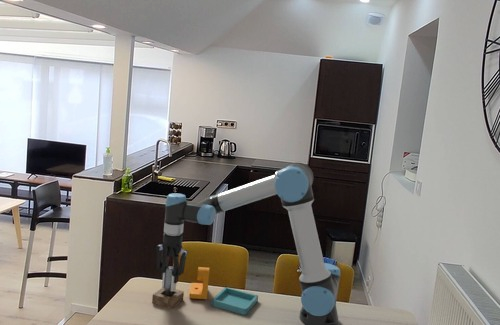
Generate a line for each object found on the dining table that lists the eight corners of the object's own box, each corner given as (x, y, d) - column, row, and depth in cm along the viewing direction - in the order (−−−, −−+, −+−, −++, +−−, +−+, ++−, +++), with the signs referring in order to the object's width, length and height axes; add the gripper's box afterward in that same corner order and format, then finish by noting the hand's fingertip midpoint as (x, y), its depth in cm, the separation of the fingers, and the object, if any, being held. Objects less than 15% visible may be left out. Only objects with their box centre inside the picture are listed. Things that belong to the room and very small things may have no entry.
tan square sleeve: (183, 299, 186) (183, 291, 186) (171, 308, 178) (172, 300, 177) (163, 294, 189) (164, 286, 189) (152, 302, 181) (152, 294, 180)
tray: (257, 301, 192) (258, 295, 191) (245, 315, 179) (246, 309, 178) (225, 292, 197) (225, 286, 196) (211, 305, 184) (211, 299, 183)
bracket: (190, 288, 197) (192, 262, 195) (207, 289, 198) (209, 263, 196) (188, 299, 186) (191, 272, 185) (206, 301, 187) (209, 273, 185)
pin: (173, 300, 184) (176, 267, 182) (169, 303, 181) (172, 270, 179) (166, 298, 186) (168, 265, 183) (161, 301, 182) (164, 268, 180)
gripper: (196, 234, 180) (191, 290, 183) (160, 226, 185) (156, 280, 189) (187, 239, 173) (182, 297, 176) (150, 230, 178) (146, 287, 182)
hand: (168, 288), depth 183 cm, fingers closed on pin, 3 cm apart
